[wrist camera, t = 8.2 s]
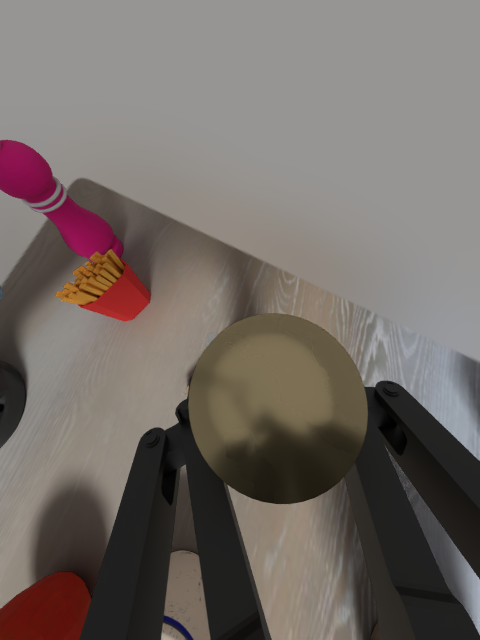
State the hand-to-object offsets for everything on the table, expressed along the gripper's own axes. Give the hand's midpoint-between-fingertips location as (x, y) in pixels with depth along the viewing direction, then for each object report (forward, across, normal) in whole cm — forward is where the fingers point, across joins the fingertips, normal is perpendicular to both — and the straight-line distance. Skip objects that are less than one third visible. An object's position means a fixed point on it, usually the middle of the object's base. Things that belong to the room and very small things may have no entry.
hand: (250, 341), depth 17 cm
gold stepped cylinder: (+3, 0, -8) cm, 8 cm away
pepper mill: (+30, -22, +5) cm, 37 cm away
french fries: (+21, -18, -3) cm, 28 cm away
